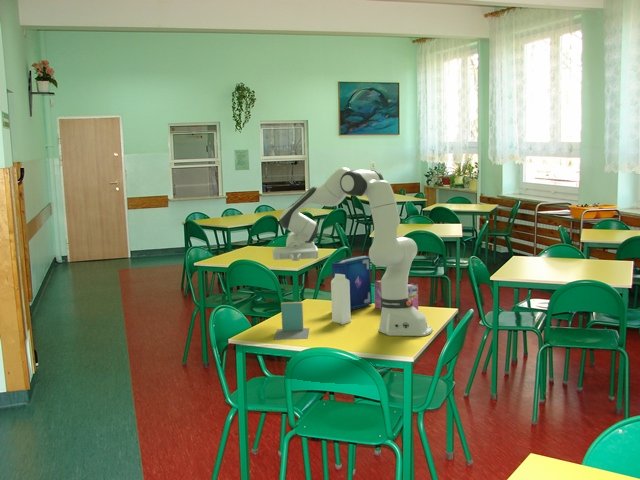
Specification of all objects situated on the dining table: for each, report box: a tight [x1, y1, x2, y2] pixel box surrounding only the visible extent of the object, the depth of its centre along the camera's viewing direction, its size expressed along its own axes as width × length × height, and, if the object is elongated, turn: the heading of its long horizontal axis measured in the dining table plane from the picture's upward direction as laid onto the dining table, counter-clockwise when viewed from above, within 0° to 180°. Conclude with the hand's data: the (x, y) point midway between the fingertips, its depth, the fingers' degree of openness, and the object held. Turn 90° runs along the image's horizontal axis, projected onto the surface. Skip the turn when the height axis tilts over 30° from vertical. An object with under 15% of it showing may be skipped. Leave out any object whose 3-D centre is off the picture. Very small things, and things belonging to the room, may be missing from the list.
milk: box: [330, 274, 352, 326], centre depth 290 cm, size 6×6×22 cm
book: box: [331, 255, 373, 311], centre depth 318 cm, size 22×7×25 cm, turn 132°
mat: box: [273, 327, 310, 341], centre depth 272 cm, size 17×14×1 cm
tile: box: [280, 301, 305, 331], centre depth 277 cm, size 2×9×12 cm, turn 88°
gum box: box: [374, 280, 419, 311], centre depth 311 cm, size 24×8×14 cm, turn 38°
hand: (295, 259), depth 282 cm, fingers closed
